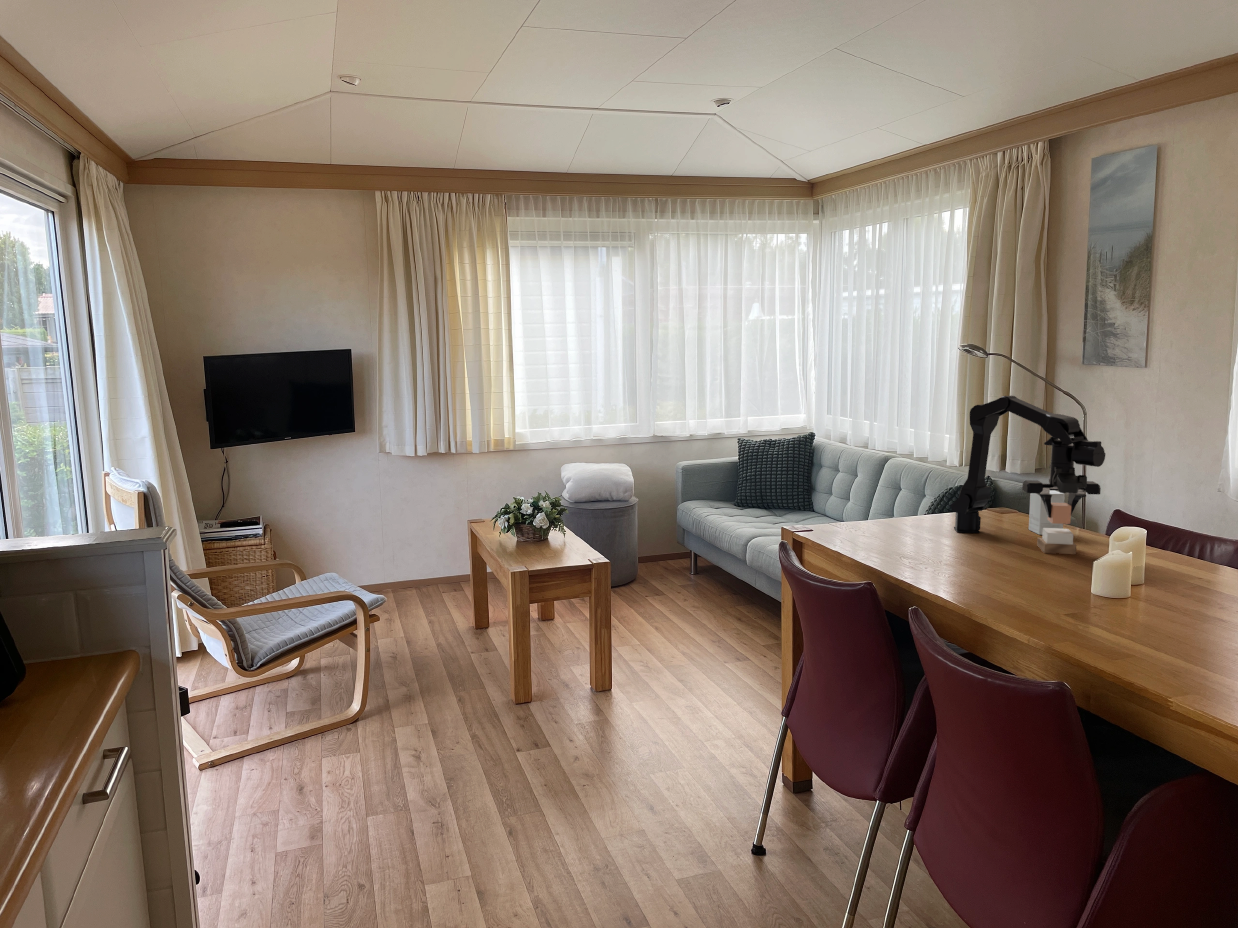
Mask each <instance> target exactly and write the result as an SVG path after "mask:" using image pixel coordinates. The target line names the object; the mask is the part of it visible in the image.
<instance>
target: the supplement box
mask: <svg viewBox="0 0 1238 928" xmlns="http://www.w3.org/2000/svg"><path fill="white" fill-rule="evenodd" d="M1050 494H1051V495H1052V497H1051V503H1065V501H1066V500H1065V498H1066V497H1065V495H1066V493H1060V492H1059V491H1058V490H1050ZM1029 495H1030V496H1029V516H1028V531H1031V532H1033V533H1034V534H1037V535H1041V536H1042V532H1043V528H1059V529H1064V524H1056V523H1051V522H1050V521H1048V515H1047V512H1046V509H1045V506H1044V503H1043V501H1042V499H1041V497H1040V496H1039V495H1038V494H1036V493H1029Z"/></svg>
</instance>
